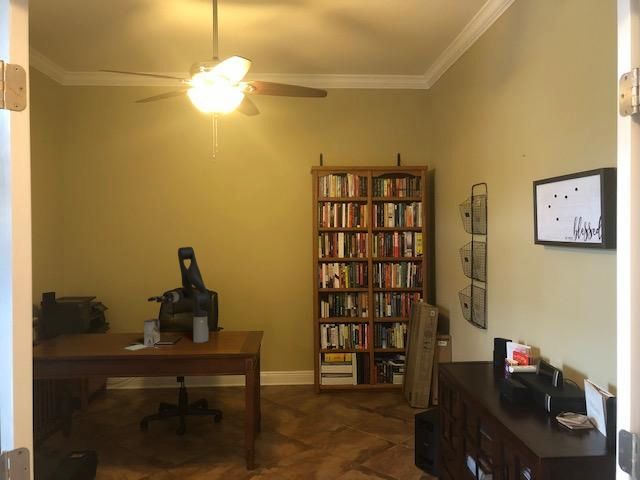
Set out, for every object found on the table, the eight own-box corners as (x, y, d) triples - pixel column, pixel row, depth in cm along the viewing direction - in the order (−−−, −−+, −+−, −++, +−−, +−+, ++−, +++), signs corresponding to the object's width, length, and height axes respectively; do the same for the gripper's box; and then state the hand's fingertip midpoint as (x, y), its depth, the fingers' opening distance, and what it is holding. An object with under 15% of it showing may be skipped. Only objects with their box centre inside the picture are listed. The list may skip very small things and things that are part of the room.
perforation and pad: (141, 344, 307) (141, 343, 307) (157, 347, 299) (157, 346, 299) (124, 348, 295) (124, 347, 295) (141, 352, 288) (141, 351, 288)
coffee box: (151, 341, 315) (151, 318, 314) (160, 342, 313) (160, 318, 313) (143, 345, 306) (143, 321, 305) (152, 345, 304) (152, 321, 304)
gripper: (163, 291, 333) (145, 294, 318) (177, 293, 326) (160, 295, 312) (163, 301, 333) (145, 305, 319) (177, 303, 326) (160, 306, 312)
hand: (152, 300), depth 315 cm, fingers open, 8 cm apart
